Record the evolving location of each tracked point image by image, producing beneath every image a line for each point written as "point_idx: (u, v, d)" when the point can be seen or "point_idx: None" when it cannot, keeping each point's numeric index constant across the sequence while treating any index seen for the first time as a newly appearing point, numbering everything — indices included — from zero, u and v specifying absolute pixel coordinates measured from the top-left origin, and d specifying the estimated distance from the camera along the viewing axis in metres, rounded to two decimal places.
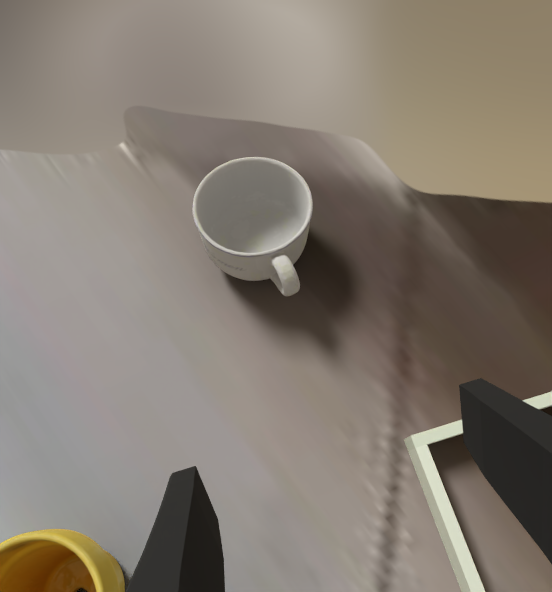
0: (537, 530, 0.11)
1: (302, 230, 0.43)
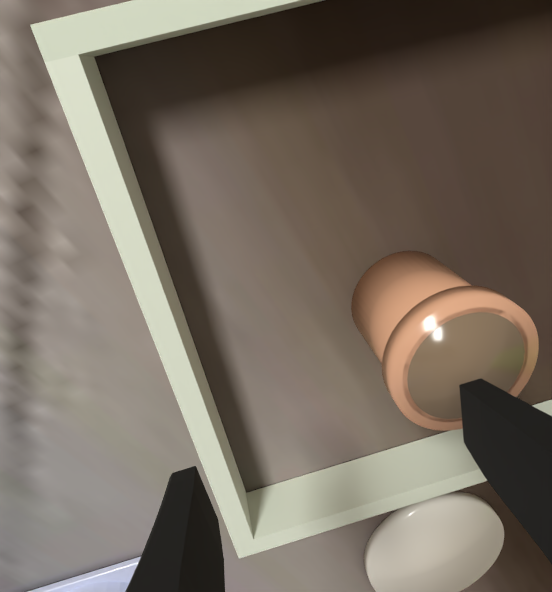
0: (537, 530, 0.11)
1: None
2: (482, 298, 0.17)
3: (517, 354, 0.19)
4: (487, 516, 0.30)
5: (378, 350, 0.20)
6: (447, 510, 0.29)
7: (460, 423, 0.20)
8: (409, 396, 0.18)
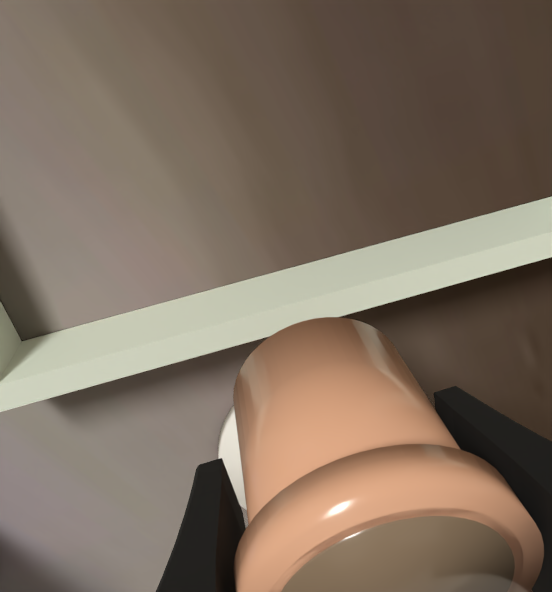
0: None
1: None
2: (423, 494, 0.08)
3: (500, 572, 0.09)
4: None
5: None
6: None
7: None
8: None
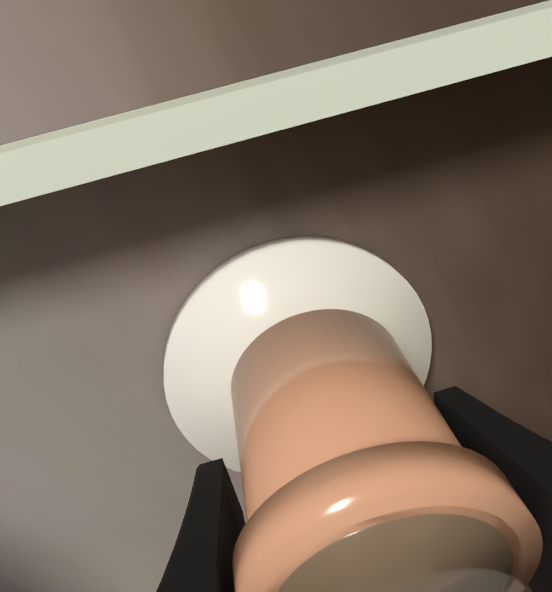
0: None
1: None
2: (423, 493, 0.08)
3: (498, 567, 0.09)
4: (393, 289, 0.16)
5: None
6: (307, 265, 0.15)
7: None
8: None
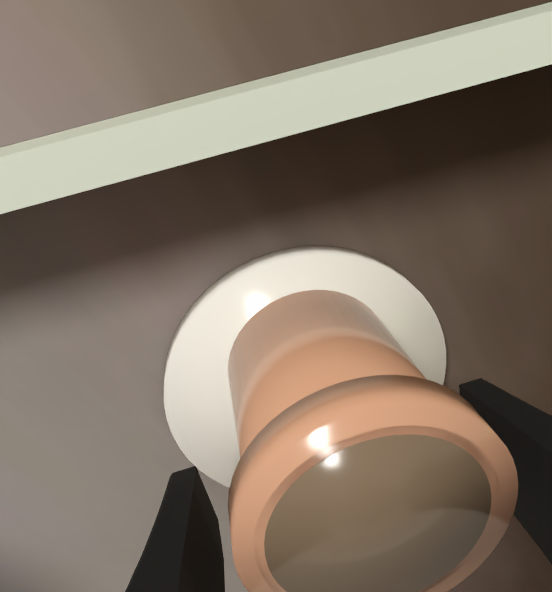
0: (537, 530, 0.11)
1: None
2: (399, 410, 0.09)
3: (478, 501, 0.10)
4: (407, 302, 0.15)
5: None
6: (316, 277, 0.14)
7: None
8: (274, 582, 0.10)
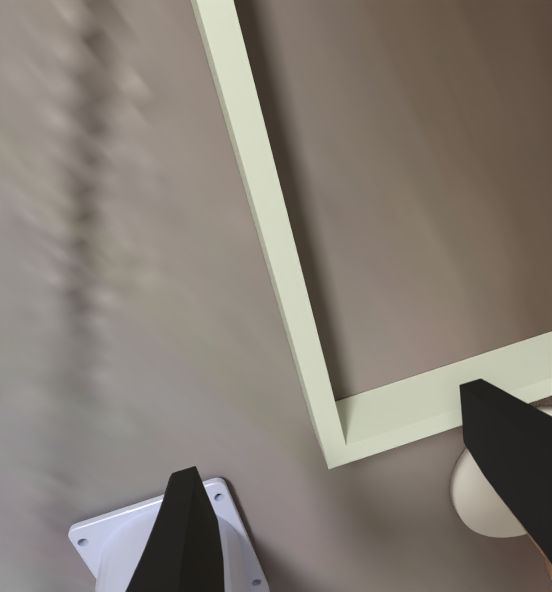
0: (537, 530, 0.11)
1: None
2: None
3: None
4: None
5: None
6: None
7: None
8: None
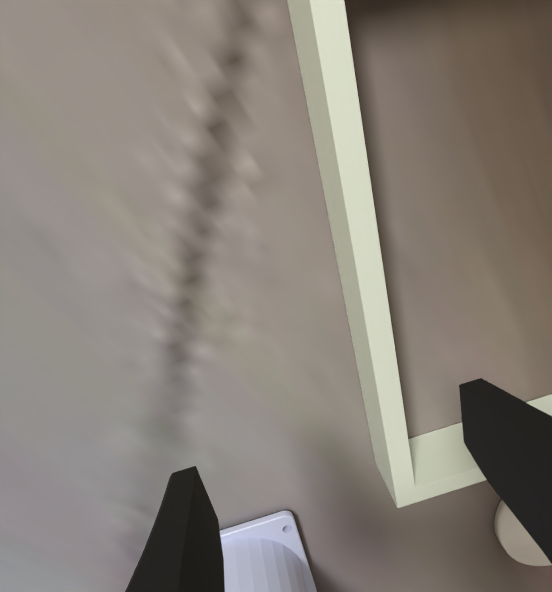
0: (537, 530, 0.11)
1: None
2: None
3: None
4: None
5: None
6: None
7: None
8: None
